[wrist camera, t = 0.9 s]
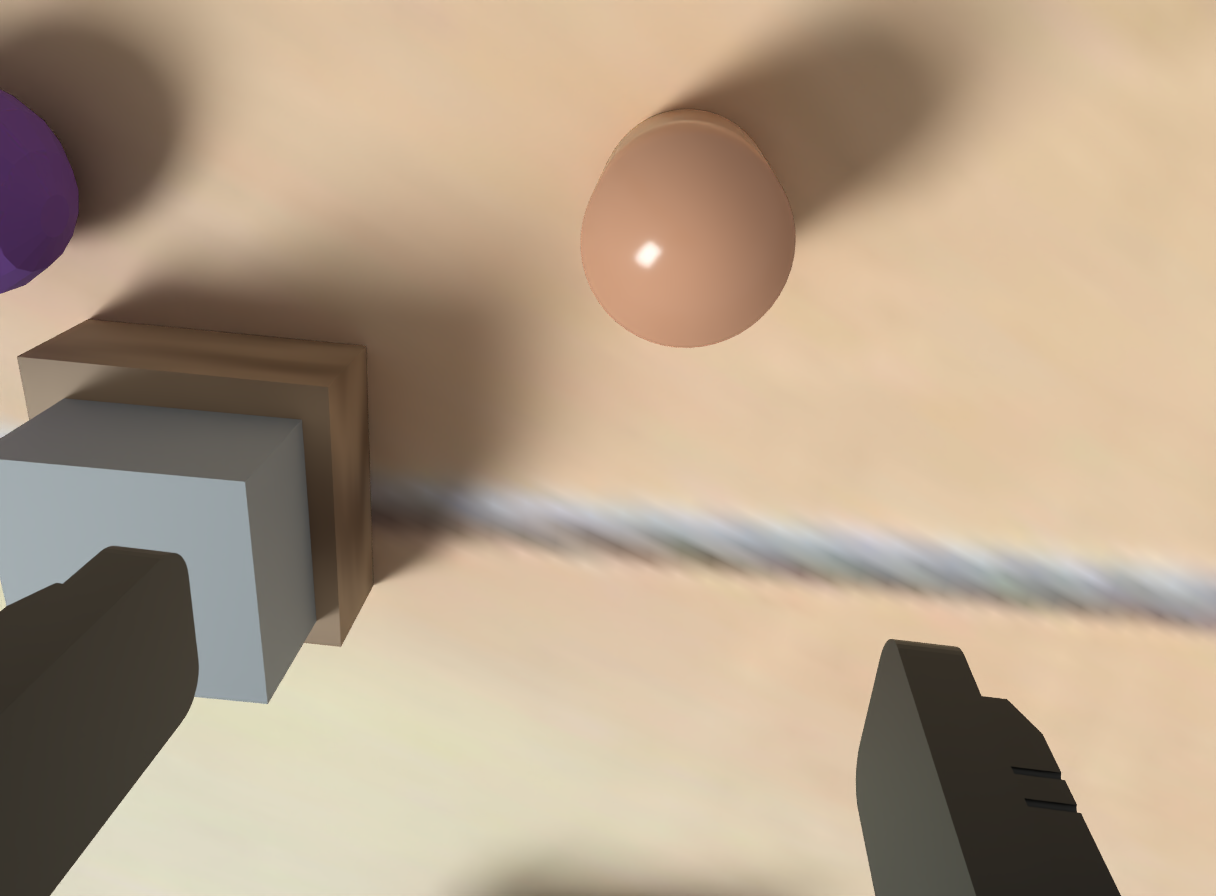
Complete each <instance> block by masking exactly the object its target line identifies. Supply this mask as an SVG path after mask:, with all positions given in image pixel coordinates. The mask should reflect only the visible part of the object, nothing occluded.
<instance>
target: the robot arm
mask: <svg viewBox="0 0 1216 896" xmlns="http://www.w3.org/2000/svg"><path fill="white" fill-rule="evenodd" d="M198 676H199V660H198V651H197V643H196V634H195V625H194V617H193V608H192V599H191V591H190V582H189V574H188V568H187V565H186V562H185V561H184V559H183V558H182V556H181V555H179V554H178V553H172V552H164V551H155V550H147V549H138V548H130V547H121V546H109V547H107V548H105V549H103V550H102V551H100V552H99V553H98V554H97V555H96V556H94V557H93V558H92V559H91V560H90V561H89V562H87V563H86V564H85V565H84V566H83V567H82V568H80V569H79V570H78V571H77V572H76V573H75V574H73V575H72V576H71V577H70V578H69V579H68V580H66V581H65V582H64V583H63V584H62V583H54V584H52V585H50V586H48V587H46V588H44V589H41V590H39V591H37V592H35V593H33V594H31V595H29V596H27V597H25V598H23V599H20V600H18V601H16V602H14V603H12V604H10V605H8V606H6V607H5V608H4V609H3V610H2V611H0V896H50V895H51V893H52V892H53V891H54V890H55V888H56V887H57V886H58V884H59V883H60V882H61V880H62V879H63V878H64V876H65V875H66V874H67V872H68V871H69V870H70V868H71V867H72V866H73V864H74V863H75V862H76V861H77V859H78V858H79V857H80V855H81V854H82V853H83V851H84V850H85V849H86V847H87V846H88V845H89V843H90V842H91V841H92V839H93V838H94V837H95V835H96V834H97V833H98V832H99V830H100V829H101V828H102V826H103V825H104V824H105V822H106V821H107V820H108V818H109V817H110V816H111V814H112V813H113V812H114V810H115V809H116V808H117V807H118V805H119V804H120V803H121V801H122V800H123V799H124V797H125V796H126V795H127V793H128V792H129V791H130V789H131V788H132V787H133V785H134V784H135V783H136V781H137V780H138V779H139V778H140V776H141V775H142V774H143V772H144V771H145V770H146V768H147V767H148V766H149V764H150V763H151V762H152V760H153V759H154V758H155V756H156V755H157V754H158V753H159V751H160V750H161V749H162V747H163V746H164V745H165V743H166V742H167V741H168V739H169V738H170V737H171V735H172V734H173V733H174V731H175V730H176V729H177V727H178V726H179V725H180V724H181V722H182V721H183V719H184V718H185V716H186V715H187V713H188V711H189V709H190V706H191V704H192V701H193V699H194V696H195V692H196V688H197V683H198ZM856 797H857V805H858V811H859V816H860V821H861V826H862V831H863V836H864V841H865V846H866V851H867V856H868V861H869V866H870V871H871V876H872V881H873V886H874V891H875V896H1121V895H1120V893H1119V891H1118V889H1117V887H1116V885H1115V883H1114V880H1113V878H1112V876H1111V874H1110V872H1109V870H1108V868H1107V866H1106V864H1105V862H1104V860H1103V858H1102V856H1101V854H1100V852H1099V850H1098V847H1097V845H1096V843H1095V841H1094V839H1093V837H1092V835H1091V833H1090V831H1089V829H1088V827H1087V825H1086V823H1085V821H1084V819H1083V817H1082V814H1081V813H1077V811H1076V806H1077V804H1076V802H1075V800H1074V798H1073V796H1072V794H1071V792H1070V790H1069V788H1068V786H1067V784H1066V781H1065V780H1061V771H1060V769H1059V767H1058V765H1057V763H1056V761H1055V759H1054V757H1053V755H1052V753H1051V751H1050V748H1049V746H1048V744H1047V742H1046V740H1045V738H1044V736H1043V734H1042V733H1041V732H1040V731H1039V730H1038V729H1037V728H1036V727H1035V726H1034V725H1033V724H1032V723H1031V722H1030V721H1029V720H1028V719H1027V718H1026V717H1025V716H1024V715H1023V714H1022V713H1020V712H1019V711H1018V710H1017V709H1016V708H1015V707H1014V706H1013V705H1012V704H1011V703H1010V702H1009V701H1008V700H1007V699H1000V698H992V697H983V696H981V694H980V692H979V689H978V687H977V684H976V682H975V680H974V677H973V675H972V673H971V670H970V668H969V665H968V663H967V661H966V658H965V656H964V654H963V652H962V651H961V649H960V648H958V647H954V646H945V645H937V644H928V643H920V642H911V641H903V640H894V639H889V640H888V641H887V642H886V643H885V645H884V647H883V650H882V653H881V657H880V661H879V665H878V669H877V674H876V678H875V682H874V686H873V691H872V695H871V699H870V703H869V708H868V712H867V716H866V720H865V725H864V729H863V733H862V737H861V742H860V746H859V751H858V758H857V768H856Z"/></svg>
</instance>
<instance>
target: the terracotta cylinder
mask: <svg viewBox="0 0 1216 896" xmlns="http://www.w3.org/2000/svg"><path fill="white" fill-rule="evenodd" d="M794 252H795V225H794V220H793V214H792V210H791V207H790V204H789V201H788V199H787V197H786V194H785V192H784V190H783V188H782V186H781V185H780V183H779V181H778V180H777V178H776V176H775V174H774V173H773V171H772V169H771V168H770V166H769V164H768V163H767V161H766V159H765V158H764V156H763V154H762V153H761V151H760V149H759V148H758V146H757V145H756V143H755V142H754V141H753V140H752V138H751V137H750V136H749V135H748V134H747V133H746V132H745V131H744V130H743V129H741V128H740V127H739V126H738V125H736V124H735V123H733V122H732V121H730V120H729V119H727V118H724V117H722V116H720V115H718V114H715V113H711V112H708V111H703V110H697V109H680V110H672V111H668V112H664V113H660V114H658V115H655V116H653V117H651V118H649V119H647V120H645V121H643V122H642V123H640V124H638V125H637V126H636V127H635V128H633V129H632V130H631V131H630V132H629V133H628V134H627V135H626V136H625V137H624V138H623V139H622V140H621V141H620V142H619V144H618V145H617V146H616V148H615V149H614V151H613V152H612V154H611V156H610V158H609V159H608V162H607V164H606V166H605V168H604V170H603V172H602V174H601V177H600V179H599V181H598V183H597V185H596V187H595V189H594V192H593V194H592V196H591V198H590V201H589V203H588V206H587V208H586V211H585V215H584V219H583V223H582V231H581V255H582V263H583V267H584V271H585V274H586V278H587V280H588V283H589V285H590V287H591V290H592V291H593V293H594V295H595V297H596V298H597V300H598V302H599V303H600V304H601V306H602V307H603V308H604V310H605V311H606V312H607V313H608V314H609V315H610V316H611V317H612V318H613V319H614V320H615V321H616V322H617V323H619V324H620V325H621V326H622V327H624V328H625V329H626V330H628V331H630V332H631V333H633V334H635V335H636V336H638V337H641V338H643V339H645V340H647V341H650V342H653V343H657V344H660V345H664V346H671V347H682V348H692V347H702V346H707V345H712V344H716V343H719V342H722V341H724V340H727V339H730V338H732V337H734V336H736V335H738V334H740V333H741V332H743V331H744V330H746V329H747V328H749V327H750V326H752V325H753V324H754V323H755V322H757V321H758V320H759V319H760V318H761V317H762V316H763V315H764V314H765V313H766V312H767V311H768V310H769V309H770V308H771V306H772V305H773V304H774V302H775V301H776V299H777V298H778V297H779V295H780V293H781V291H782V289H783V288H784V286H785V284H786V282H787V279H788V276H789V273H790V271H791V267H792V263H793V258H794Z"/></svg>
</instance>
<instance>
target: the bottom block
mask: <svg viewBox="0 0 1216 896" xmlns="http://www.w3.org/2000/svg"><path fill="white" fill-rule="evenodd" d="M17 359H18V364H19V369H20V375H21V380H22V385H23V390H24V395H25V400H26V406H27V411H28V416H29V420H31V419H32V418H34V417H35V416H37V415H38V414H40V413H42V412H43V411H45V410H46V409H48V408H50V407H51V406H53V405H54V404H56V403H57V402H59V401H61V400H62V399H64V398H65V399H77V400H88V401H99V402H110V403H121V404H133V405H144V406H155V407H166V408H177V409H189V410H200V411H211V412H222V413H233V414H245V415H256V416H267V417H278V418H289V419H300V420H302V428H303V442H304V456H305V470H306V484H307V497H308V511H309V525H310V539H311V553H312V567H313V580H314V594H315V608H316V623H315V625H314V626H313V628H312V630H311V631H310V633H309V635H308V636H307V638H306V640H305V642H304V643H311V644H320V645H330V646H339V647H341V646H342V644H343V642H344V640H345V638H346V636H347V634H348V632H349V630H350V629H351V627H352V625H353V623H354V621H355V619H356V617H357V615H358V613H359V612H360V610H361V608H362V606H363V604H364V602H365V600H366V598H367V596H368V594H369V593H370V591H371V589H372V587H373V556H372V523H371V489H370V456H369V423H368V390H367V356H366V346H361V345H351V344H341V343H330V342H320V341H310V340H300V339H289V338H279V337H269V336H258V335H248V334H238V333H227V332H217V331H207V330H196V329H186V328H176V327H165V326H155V325H145V324H134V323H124V322H114V321H104V320H93V319H88V320H86V321H84V322H82V323H80V324H78V325H76V326H74V327H73V328H71V329H69V330H67V331H65V332H63V333H61V334H59V335H57V336H55V337H54V338H52V339H50V340H48V341H46V342H44V343H42V344H40V345H38V346H36V347H35V348H33V349H31V350H29V351H27V352H25V353H23V354H21V355H19V356H17Z"/></svg>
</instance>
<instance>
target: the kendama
mask: <svg viewBox="0 0 1216 896" xmlns="http://www.w3.org/2000/svg"><path fill="white" fill-rule="evenodd" d="M78 213H79V195H78V187H77V183H76V180H75V177H74V173H73V170H72V168H71V165H70V163H69V161H68V158H67V156H66V154H65V152H64V149H63V147H62V145H61V143H60V141H59V140H58V139H57V137H56V136H55V135H54V133H53V132H52V131H51V129H50V128H49V127H48V125H47V124H46V123H45V121H44V120H42V119H41V118H40V117H39V116H37V115H36V114H35V113H34V112H32V111H31V110H30V109H29V108H27V107H26V106H25V105H24V104H22V103H21V102H20V101H19V100H17V99H16V98H15V97H14V96H12V95H10V94H8V93H6V92H4V91H2V90H0V294H1V293H4V292H7V291H10V290H12V289H15V288H18V287H21V286H24V285H26V284H27V283H28V282H30V281H31V280H32V279H34V278H35V277H36V276H37V275H39V274H40V273H41V272H42V271H44V270H45V269H46V268H48V267H49V266H50V265H51V264H52V263H53V262H54V261H55V260H56V259H57V258H58V257H59V256H61V255H62V254H63V252H64V250H65V248H66V246H67V245H68V243H69V241H70V239H71V237H72V236H73V233H74V229H75V225H76V221H77V217H78Z"/></svg>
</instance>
